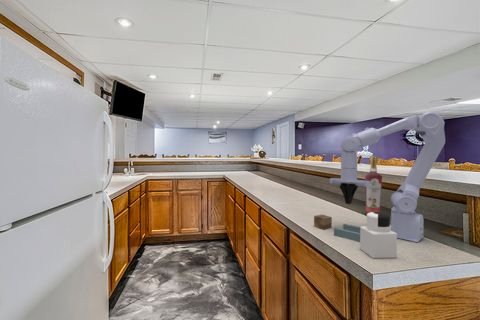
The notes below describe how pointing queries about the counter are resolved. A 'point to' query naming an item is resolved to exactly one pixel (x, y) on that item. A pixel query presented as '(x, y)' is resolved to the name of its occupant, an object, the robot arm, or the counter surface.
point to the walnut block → (323, 222)
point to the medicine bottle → (378, 236)
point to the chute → (348, 232)
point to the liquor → (373, 188)
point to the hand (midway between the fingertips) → (348, 203)
